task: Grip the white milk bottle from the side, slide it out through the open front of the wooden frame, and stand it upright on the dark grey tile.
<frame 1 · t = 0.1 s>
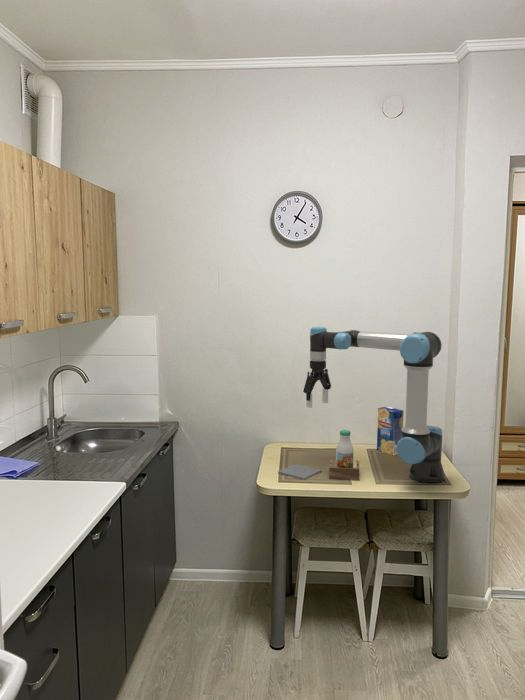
hand: (317, 405, 272), 28 cm above the table, tool pointing down, fingers open, 13 cm apart
milk bottle: (344, 475, 258), on the table
wooden frame: (344, 474, 258), on the table
grey tile: (299, 472, 261), on the table
beverage box: (389, 452, 293), on the table
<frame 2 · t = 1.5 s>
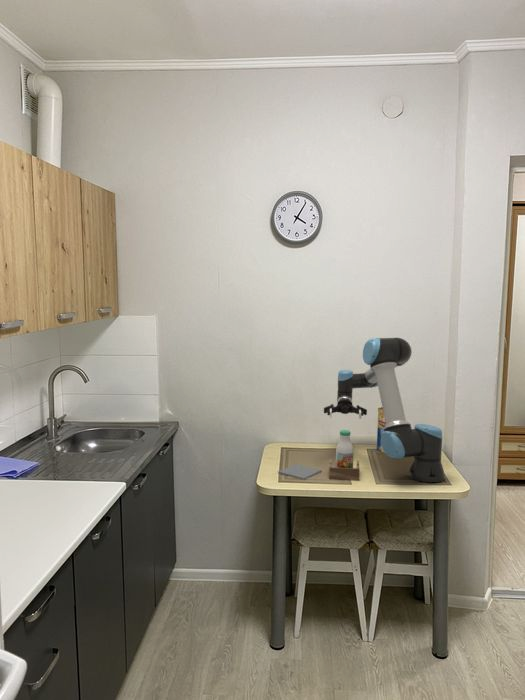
hand: (345, 415, 267), 24 cm above the table, tool horizontal, fingers open, 13 cm apart
nothing on the table moved.
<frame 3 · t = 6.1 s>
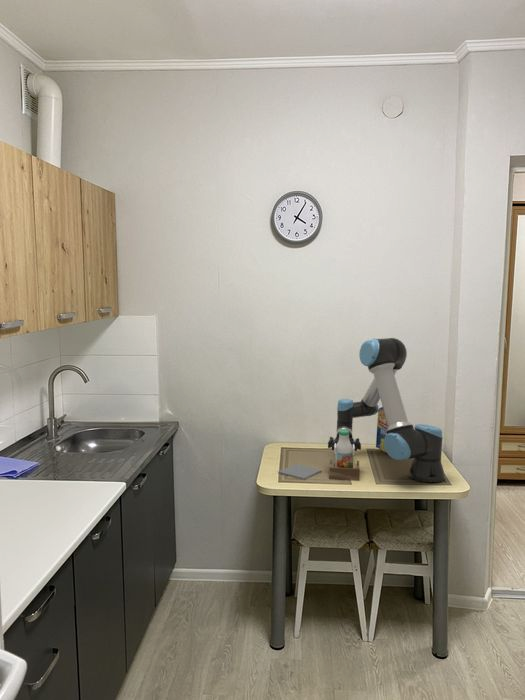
hand: (344, 451, 252), 12 cm above the table, tool horizontal, fingers closed on milk bottle, 7 cm apart
milk bottle: (344, 474, 258), on the table, touching gripper
beverage box: (388, 449, 293), point 1 cm above the table, touching arm
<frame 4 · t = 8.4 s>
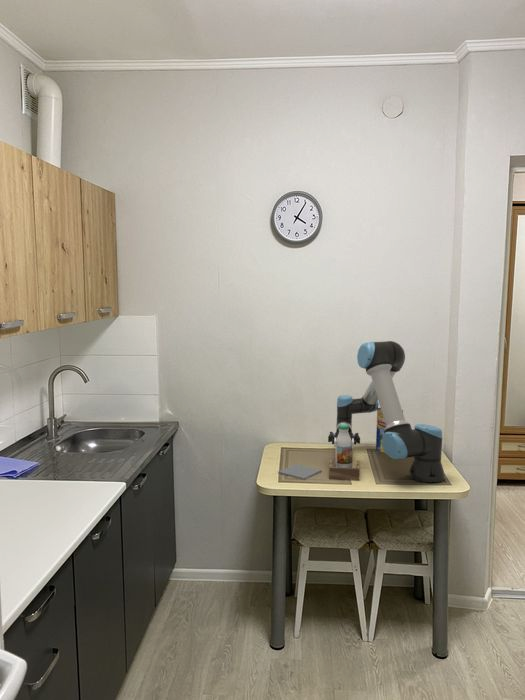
hand: (344, 444, 260), 13 cm above the table, tool horizontal, fingers closed on milk bottle, 7 cm apart
milk bottle: (344, 468, 266), on the table, touching gripper
beverage box: (388, 452, 293), on the table
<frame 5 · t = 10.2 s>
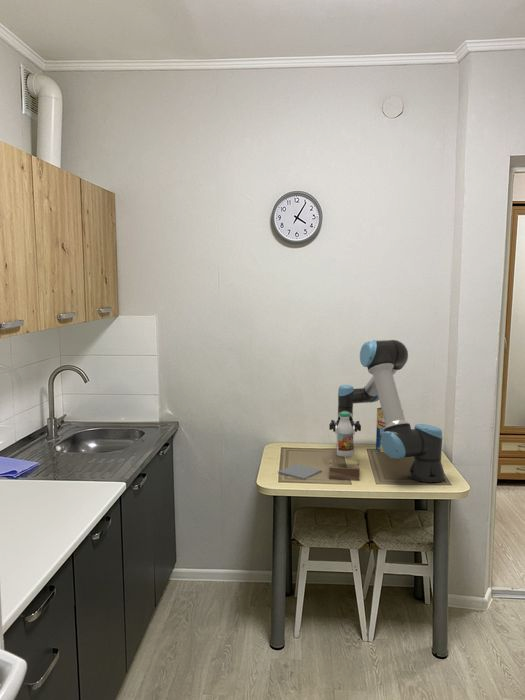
hand: (345, 431, 264), 18 cm above the table, tool horizontal, fingers closed on milk bottle, 7 cm apart
milk bottle: (345, 455, 270), point 5 cm above the table, touching gripper
everything else where it was.
when the fingers open (14 cm above the table, at t = 14.3 s): milk bottle stays where it is, resting on grey tile.
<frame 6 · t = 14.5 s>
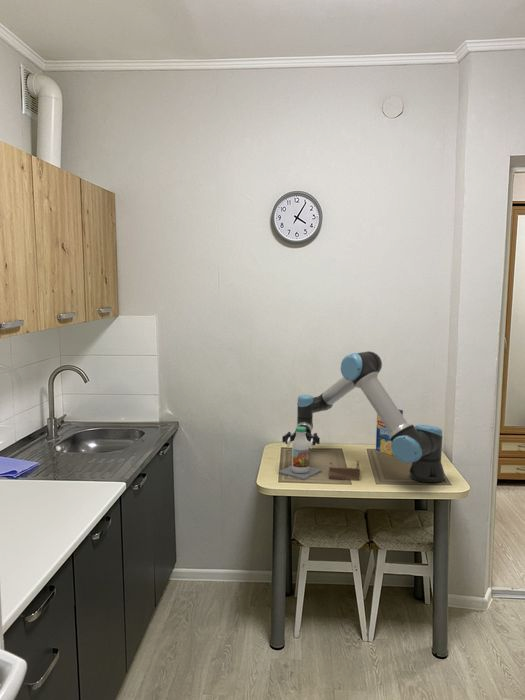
hand: (299, 444, 255), 14 cm above the table, tool horizontal, fingers open, 9 cm apart
milk bottle: (300, 471, 260), point 1 cm above the table, touching grey tile
everything else where it was.
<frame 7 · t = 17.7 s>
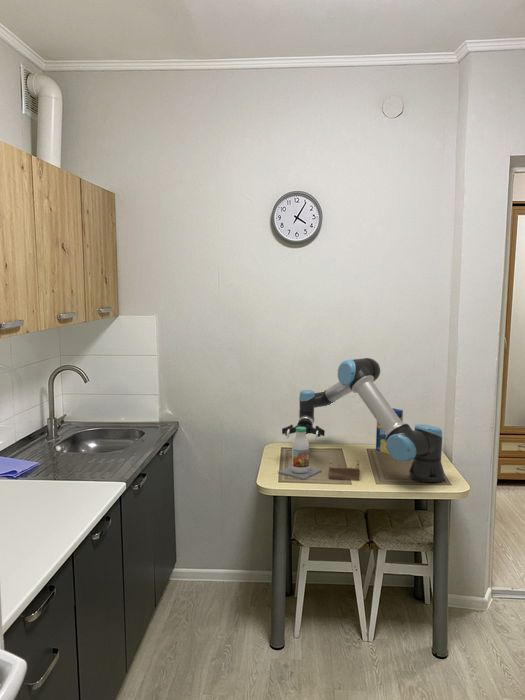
hand: (302, 436, 268), 14 cm above the table, tool horizontal, fingers open, 13 cm apart
nothing on the table moved.
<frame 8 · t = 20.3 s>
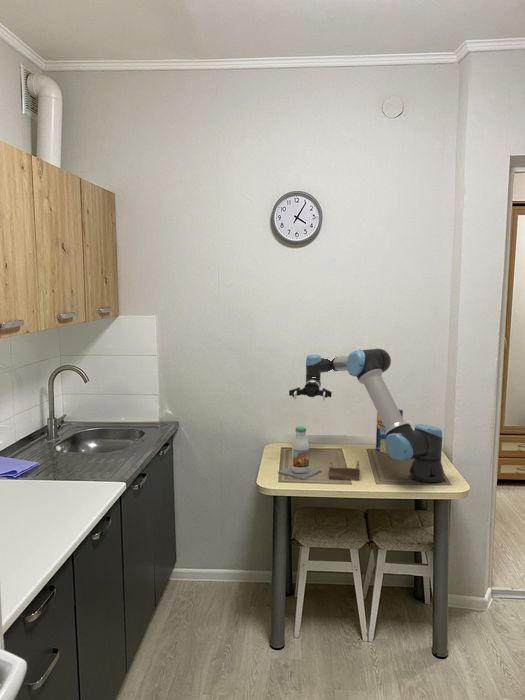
hand: (309, 396, 270), 32 cm above the table, tool horizontal, fingers open, 13 cm apart
nothing on the table moved.
at the end: milk bottle inside the target area on the grey tile (0.4 cm from its centre), point 0.6 cm above the grey tile's base; milk bottle tilted 0°; the gripper is holding nothing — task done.
